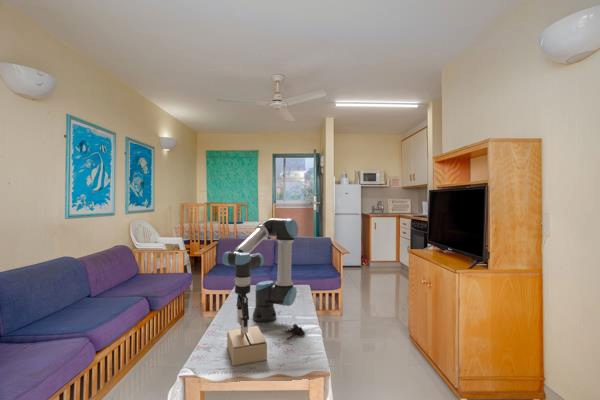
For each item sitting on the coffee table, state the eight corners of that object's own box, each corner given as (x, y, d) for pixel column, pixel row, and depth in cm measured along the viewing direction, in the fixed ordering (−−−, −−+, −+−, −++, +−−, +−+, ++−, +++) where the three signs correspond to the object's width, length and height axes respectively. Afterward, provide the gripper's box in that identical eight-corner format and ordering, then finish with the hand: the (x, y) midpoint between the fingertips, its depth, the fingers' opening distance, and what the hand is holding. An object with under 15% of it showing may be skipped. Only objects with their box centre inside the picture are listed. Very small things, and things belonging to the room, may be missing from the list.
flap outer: (227, 331, 160) (227, 312, 160) (242, 329, 163) (242, 311, 163) (233, 348, 143) (233, 327, 142) (249, 345, 145) (249, 325, 145)
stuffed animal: (305, 327, 184) (305, 322, 174) (304, 345, 178) (304, 341, 168) (285, 326, 184) (284, 322, 174) (284, 344, 179) (283, 340, 169)
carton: (227, 346, 161) (227, 329, 161) (257, 341, 166) (257, 325, 166) (233, 366, 142) (233, 347, 142) (266, 360, 148) (267, 341, 148)
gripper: (231, 278, 163) (230, 319, 164) (239, 292, 140) (239, 339, 140) (245, 277, 166) (245, 317, 166) (255, 290, 143) (255, 336, 143)
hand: (242, 327), depth 153 cm, fingers open, 13 cm apart
